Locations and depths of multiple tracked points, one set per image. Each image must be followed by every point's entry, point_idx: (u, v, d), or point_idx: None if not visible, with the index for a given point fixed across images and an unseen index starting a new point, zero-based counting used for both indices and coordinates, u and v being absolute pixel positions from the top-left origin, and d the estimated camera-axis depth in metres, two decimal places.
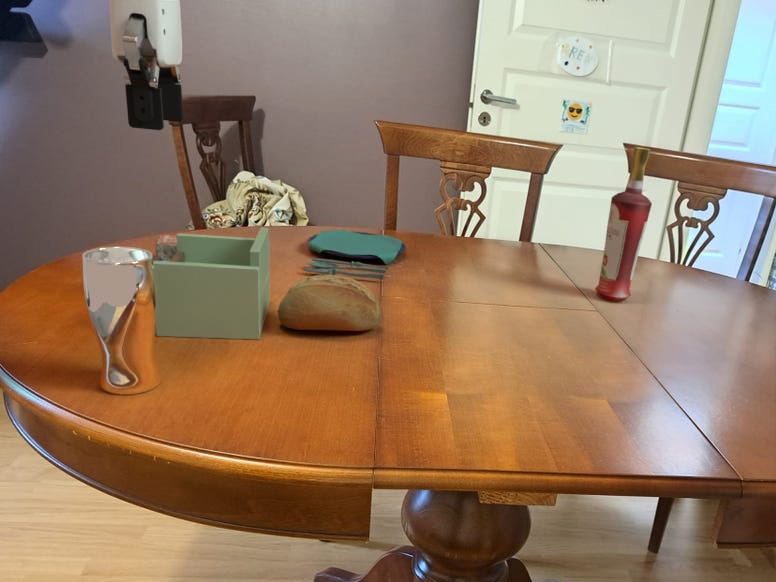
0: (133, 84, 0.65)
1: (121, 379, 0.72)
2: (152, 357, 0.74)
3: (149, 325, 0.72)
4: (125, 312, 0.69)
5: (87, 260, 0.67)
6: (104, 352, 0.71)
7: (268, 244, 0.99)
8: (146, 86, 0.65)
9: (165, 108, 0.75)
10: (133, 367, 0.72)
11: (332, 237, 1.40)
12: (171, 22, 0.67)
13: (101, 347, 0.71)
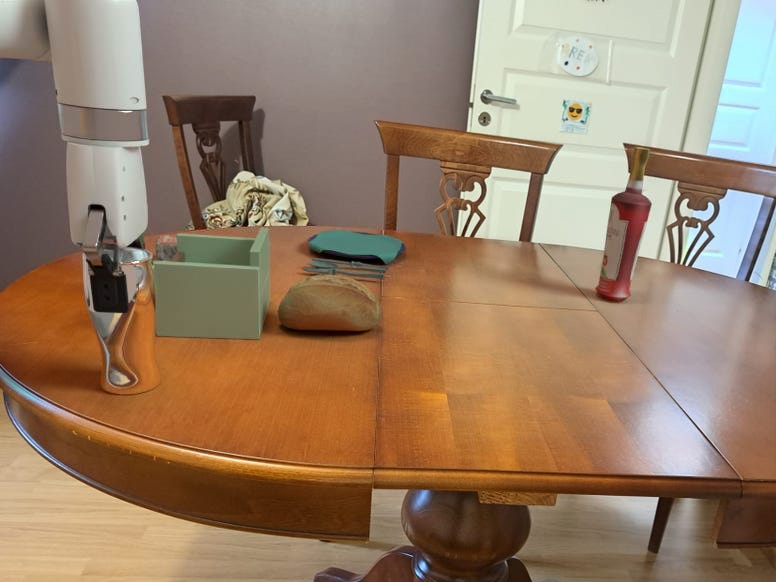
0: (97, 275, 0.65)
1: (121, 379, 0.72)
2: (152, 357, 0.74)
3: (149, 325, 0.72)
4: None
5: None
6: (104, 352, 0.71)
7: (268, 244, 0.99)
8: (110, 276, 0.65)
9: None
10: (133, 367, 0.72)
11: (332, 237, 1.40)
12: (132, 203, 0.66)
13: (101, 347, 0.71)
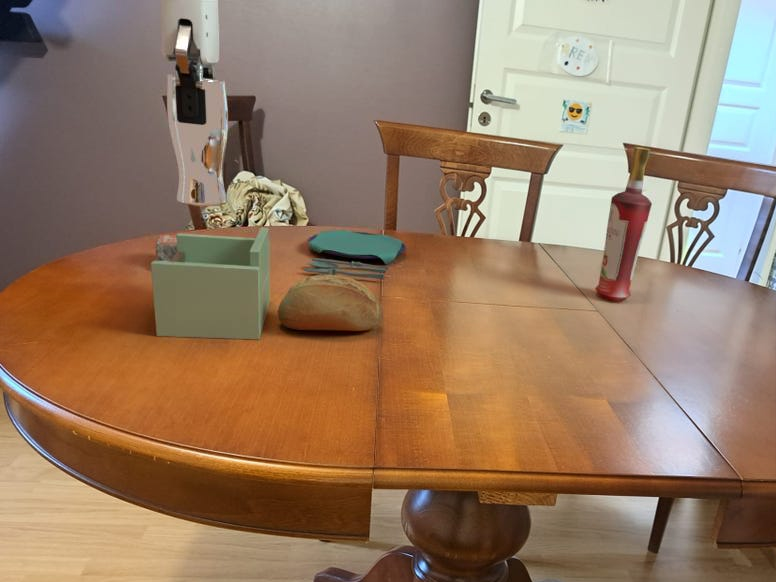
0: (182, 85, 0.77)
1: (196, 191, 0.83)
2: (221, 177, 0.86)
3: (221, 143, 0.83)
4: (203, 126, 0.80)
5: (173, 77, 0.78)
6: (182, 165, 0.83)
7: (268, 244, 0.99)
8: (193, 87, 0.77)
9: None
10: (206, 181, 0.84)
11: (332, 237, 1.40)
12: (212, 26, 0.77)
13: (180, 161, 0.83)
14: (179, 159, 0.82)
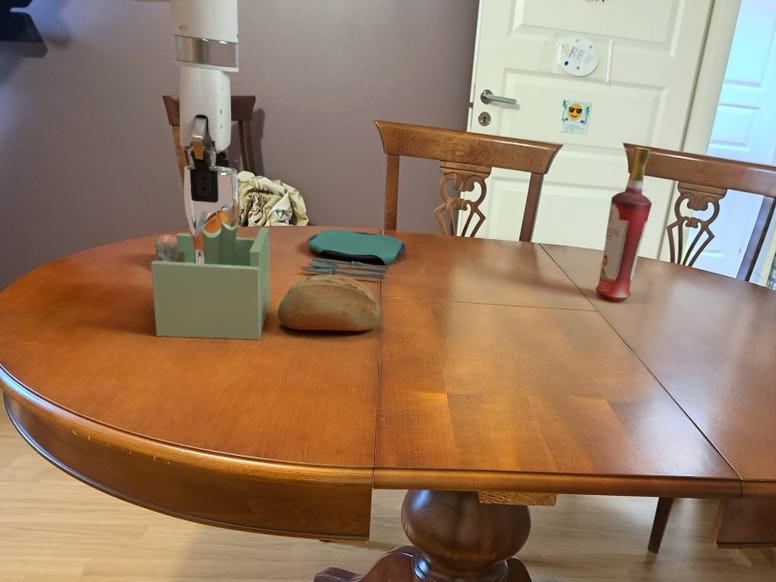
0: (196, 168, 0.82)
1: None
2: (233, 255, 0.93)
3: (233, 227, 0.90)
4: (217, 214, 0.87)
5: (189, 171, 0.85)
6: (197, 248, 0.90)
7: (268, 244, 0.99)
8: (206, 170, 0.82)
9: None
10: (219, 261, 0.91)
11: (332, 237, 1.40)
12: (225, 117, 0.84)
13: (195, 244, 0.90)
14: (195, 242, 0.90)
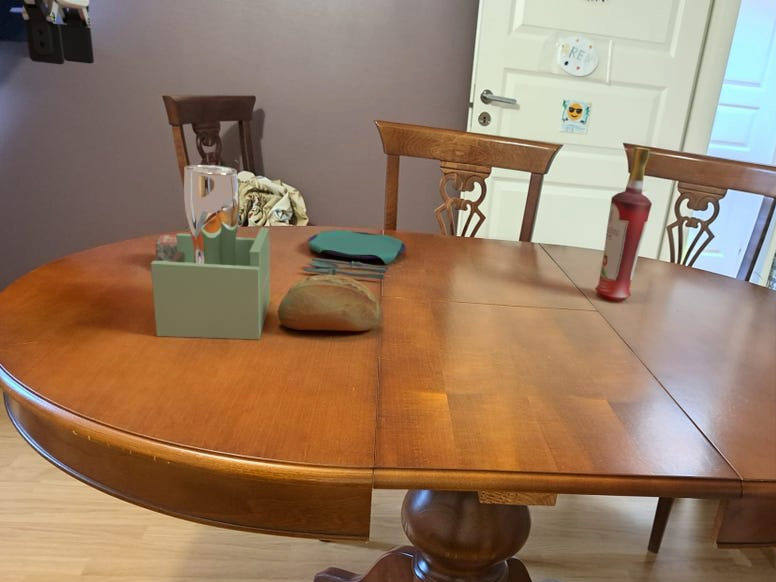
0: (31, 18, 0.69)
1: None
2: (233, 255, 0.93)
3: (233, 227, 0.90)
4: (217, 214, 0.87)
5: (189, 171, 0.85)
6: (197, 248, 0.90)
7: (268, 244, 0.99)
8: (44, 21, 0.70)
9: (75, 50, 0.80)
10: (219, 261, 0.91)
11: (332, 237, 1.40)
12: None
13: (195, 244, 0.90)
14: (195, 242, 0.90)
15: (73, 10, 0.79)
